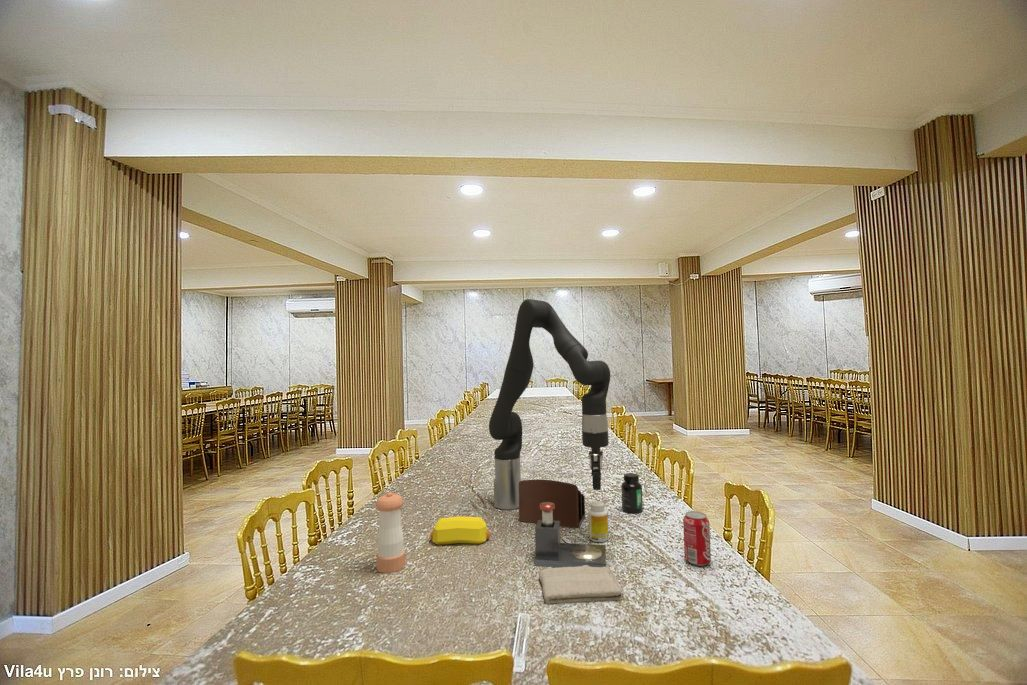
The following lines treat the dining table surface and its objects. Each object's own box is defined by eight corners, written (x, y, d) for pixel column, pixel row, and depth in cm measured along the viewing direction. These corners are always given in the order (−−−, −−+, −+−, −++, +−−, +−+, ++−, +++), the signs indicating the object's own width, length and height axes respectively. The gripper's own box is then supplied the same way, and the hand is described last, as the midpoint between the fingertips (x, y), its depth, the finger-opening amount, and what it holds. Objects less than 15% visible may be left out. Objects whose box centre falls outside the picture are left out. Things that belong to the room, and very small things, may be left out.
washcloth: (626, 602, 98) (625, 588, 98) (544, 607, 97) (544, 593, 97) (611, 575, 110) (611, 562, 110) (538, 579, 109) (538, 567, 109)
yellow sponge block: (489, 546, 129) (491, 535, 136) (489, 522, 129) (491, 512, 136) (427, 547, 129) (432, 536, 137) (426, 524, 129) (431, 514, 137)
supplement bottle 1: (612, 541, 129) (611, 505, 129) (595, 544, 127) (594, 507, 127) (601, 533, 134) (600, 499, 134) (585, 537, 132) (584, 502, 133)
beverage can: (710, 557, 117) (708, 511, 117) (712, 569, 111) (710, 520, 111) (684, 555, 119) (682, 509, 119) (685, 565, 113) (683, 517, 113)
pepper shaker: (379, 575, 113) (377, 498, 113) (374, 564, 119) (372, 491, 119) (408, 568, 116) (406, 493, 116) (401, 557, 122) (400, 486, 123)
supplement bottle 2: (645, 513, 150) (643, 477, 150) (624, 514, 150) (623, 477, 150) (639, 506, 156) (638, 472, 157) (620, 507, 156) (618, 472, 157)
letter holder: (578, 529, 139) (577, 483, 139) (518, 522, 146) (517, 478, 146) (585, 517, 148) (584, 474, 148) (528, 511, 155) (527, 470, 156)
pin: (539, 537, 119) (538, 506, 119) (541, 531, 123) (540, 501, 123) (554, 538, 118) (553, 507, 118) (556, 532, 122) (555, 502, 122)
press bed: (534, 565, 116) (533, 532, 116) (540, 547, 126) (539, 516, 127) (606, 570, 112) (604, 535, 112) (605, 550, 123) (604, 519, 123)
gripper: (582, 425, 139) (585, 478, 139) (580, 433, 125) (583, 492, 125) (607, 425, 138) (609, 478, 137) (608, 433, 124) (610, 493, 123)
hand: (597, 485), depth 131 cm, fingers open, 8 cm apart
